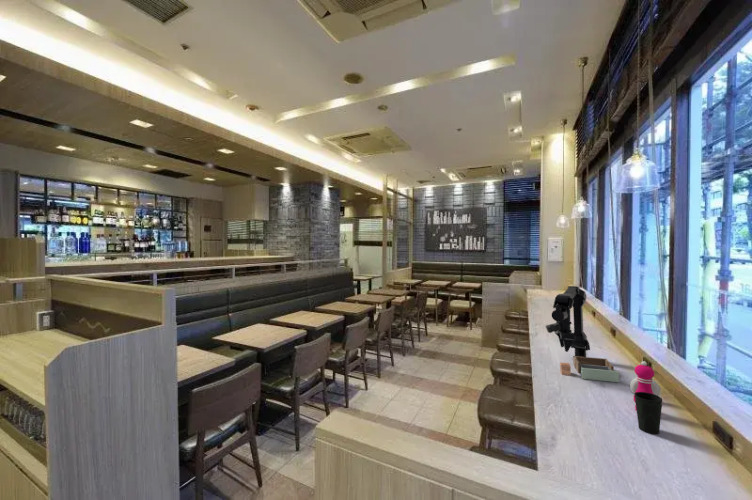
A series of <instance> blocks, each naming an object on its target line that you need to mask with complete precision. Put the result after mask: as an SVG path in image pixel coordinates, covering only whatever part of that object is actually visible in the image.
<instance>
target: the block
mask: <svg viewBox="0 0 752 500" xmlns="http://www.w3.org/2000/svg"><path fill="white" fill-rule="evenodd" d="M559 367H560V370H559V371H560V373H561V375H563V376H571V373H572V372H571V367H572V366H571V364H570V363H569V362H562V361H561V362H560V363H559Z"/></svg>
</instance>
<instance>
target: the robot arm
mask: <svg viewBox="0 0 752 500" xmlns="http://www.w3.org/2000/svg"><path fill="white" fill-rule="evenodd" d="M586 301H587V293H586V292H585V290H583V289H582V288H580V287H579V286H576V285H575V286H574V285H569V286H568V287H567V289H566V290H565V291H564V292H563V293H558V294H556V296H555V298H554V301H553V306H552V307H553V309H554V310H553V311H552V312H551V319H552V320H554V321H555V323H550V324H547V325H545V328H546V331H547V332H548V333H549V334H552V333H553V332H554V334H555V335H556V336H557V338H558V341H559V344H560V345H559V346H560V348H564V351H565V352H569V350H570V348H571V349H574V356H578V357H587V351H591V346H590V342H589V340H588V336H587V335H586V333H585V332H584V315H583V307H584V305H585V304H586ZM572 309H573V310H572ZM571 310H572V311H573V314H572V315H573V323H572V321H571ZM571 325H573V332H572V329H571Z"/></svg>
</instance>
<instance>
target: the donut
mask: <svg viewBox="0 0 752 500" xmlns="http://www.w3.org/2000/svg"><path fill="white" fill-rule="evenodd" d="M629 387H630V390H631V392H632V394H633V395H634V394H635V392H636V390H637V388H638V381H637V377H634V378H633V379H632V380H631V381H630V385H629ZM651 388H652V392H653V394H655V395H657V396H659V397H660V394H661V387H660V385H659V384H658V383H657V381H655V380H654V379H653V383H651Z"/></svg>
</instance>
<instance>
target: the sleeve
mask: <svg viewBox="0 0 752 500" xmlns="http://www.w3.org/2000/svg"><path fill="white" fill-rule="evenodd" d="M572 359H573V360H572V361H573V367H574V368H575V370H576V371H577V374H581V372H580V364H585V365H596V366H607V367H609V368H610V369H611V370H612V371H615V370H614V369H615V368H614V365H613V364H612V363H611V362H610V361H609V360H608V358H600V357H599V358H598V357H590V356H589V357H587V356H586V357H578V356H575V355H573V358H572Z"/></svg>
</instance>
